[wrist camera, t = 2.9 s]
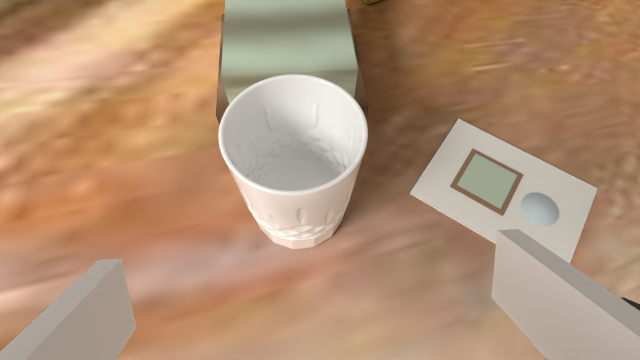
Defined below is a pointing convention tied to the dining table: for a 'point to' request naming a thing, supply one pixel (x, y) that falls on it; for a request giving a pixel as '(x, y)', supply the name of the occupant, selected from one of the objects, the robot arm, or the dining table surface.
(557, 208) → the page
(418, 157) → the dining table surface
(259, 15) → the tower base
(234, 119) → the white cup
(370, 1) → the flower pot
